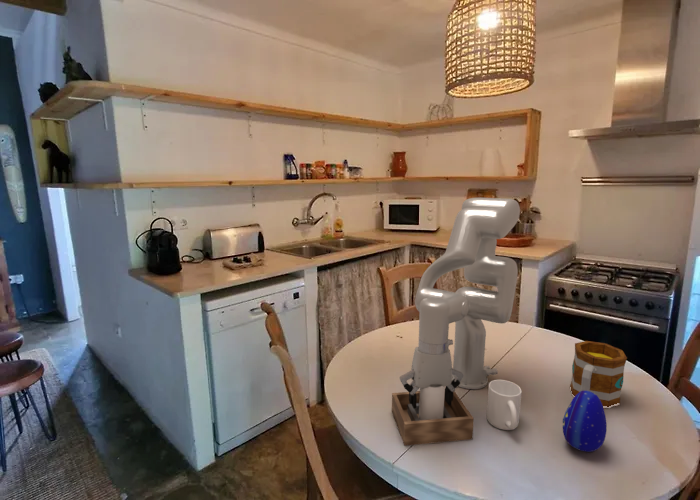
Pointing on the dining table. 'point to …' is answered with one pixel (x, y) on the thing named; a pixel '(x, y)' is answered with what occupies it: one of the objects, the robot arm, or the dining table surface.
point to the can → (431, 403)
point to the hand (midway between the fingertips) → (430, 404)
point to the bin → (431, 421)
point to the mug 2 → (598, 371)
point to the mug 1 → (503, 404)
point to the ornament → (585, 422)
